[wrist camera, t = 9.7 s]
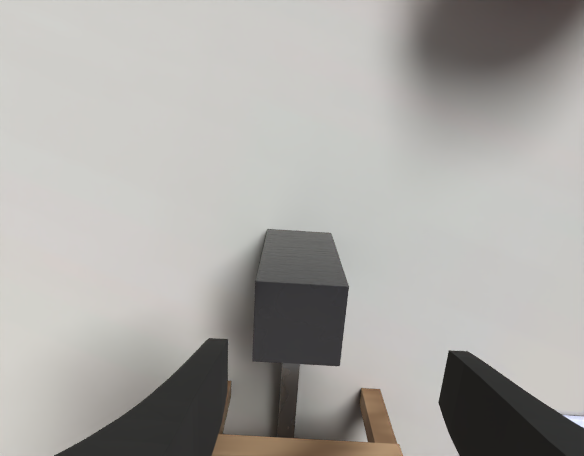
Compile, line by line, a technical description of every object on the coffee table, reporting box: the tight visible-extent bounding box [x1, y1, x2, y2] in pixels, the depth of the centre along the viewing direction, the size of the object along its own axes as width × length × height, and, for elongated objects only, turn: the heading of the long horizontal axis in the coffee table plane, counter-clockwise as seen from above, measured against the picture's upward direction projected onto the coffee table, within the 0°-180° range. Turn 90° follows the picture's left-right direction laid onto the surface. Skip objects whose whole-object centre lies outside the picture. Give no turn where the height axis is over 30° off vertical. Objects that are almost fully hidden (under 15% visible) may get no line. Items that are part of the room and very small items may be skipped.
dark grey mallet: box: [252, 229, 349, 438], centre depth 20 cm, size 4×16×7 cm, turn 176°
